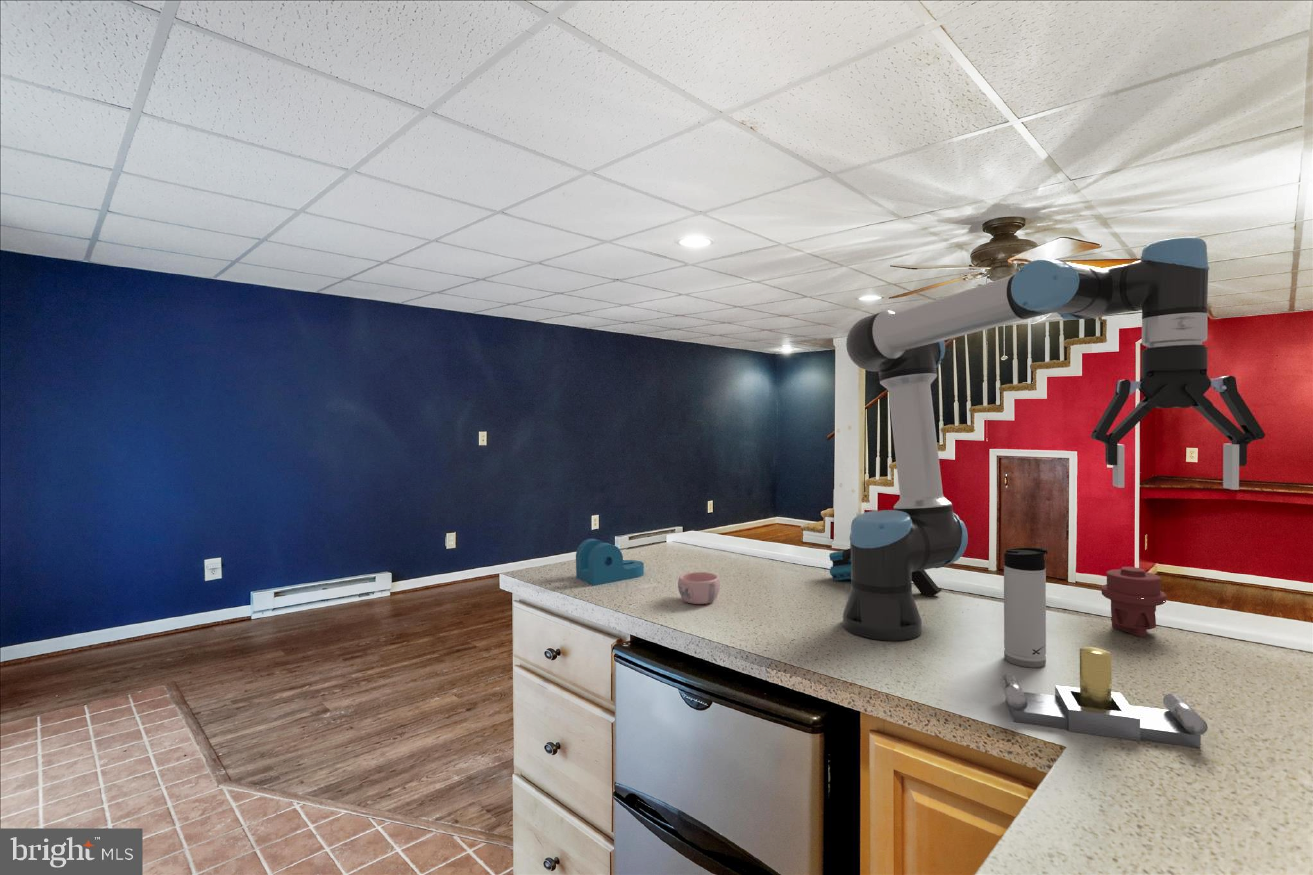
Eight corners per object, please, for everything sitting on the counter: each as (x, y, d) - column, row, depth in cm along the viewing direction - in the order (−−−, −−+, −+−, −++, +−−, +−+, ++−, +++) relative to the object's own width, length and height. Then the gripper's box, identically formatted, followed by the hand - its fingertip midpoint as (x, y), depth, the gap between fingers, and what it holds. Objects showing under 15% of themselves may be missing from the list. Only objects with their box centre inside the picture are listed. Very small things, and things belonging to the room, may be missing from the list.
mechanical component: (1147, 624, 125) (1178, 641, 115) (1091, 621, 127) (1117, 639, 117) (1147, 563, 124) (1178, 576, 114) (1091, 562, 126) (1117, 574, 116)
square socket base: (1008, 722, 87) (1008, 694, 86) (1000, 697, 94) (999, 672, 94) (1209, 750, 78) (1209, 720, 78) (1182, 721, 86) (1182, 693, 86)
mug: (728, 601, 146) (728, 576, 146) (698, 610, 140) (698, 584, 140) (693, 591, 156) (693, 568, 155) (664, 599, 149) (663, 575, 149)
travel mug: (1048, 671, 103) (1048, 553, 103) (1003, 663, 107) (1002, 549, 106) (1048, 658, 108) (1047, 545, 108) (1005, 651, 112) (1004, 542, 111)
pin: (1083, 726, 85) (1083, 655, 85) (1077, 714, 88) (1076, 645, 88) (1115, 730, 84) (1115, 658, 83) (1107, 718, 87) (1106, 648, 87)
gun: (850, 599, 167) (836, 544, 169) (947, 590, 148) (930, 529, 151) (835, 605, 161) (821, 548, 164) (934, 597, 143) (916, 533, 145)
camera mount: (593, 586, 163) (592, 546, 162) (576, 578, 171) (575, 540, 171) (651, 575, 172) (650, 538, 172) (631, 568, 181) (630, 532, 181)
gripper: (1081, 348, 93) (1081, 488, 94) (1298, 337, 84) (1297, 492, 84) (1069, 353, 100) (1069, 483, 101) (1268, 342, 91) (1266, 486, 91)
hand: (1173, 487), depth 92 cm, fingers open, 13 cm apart
